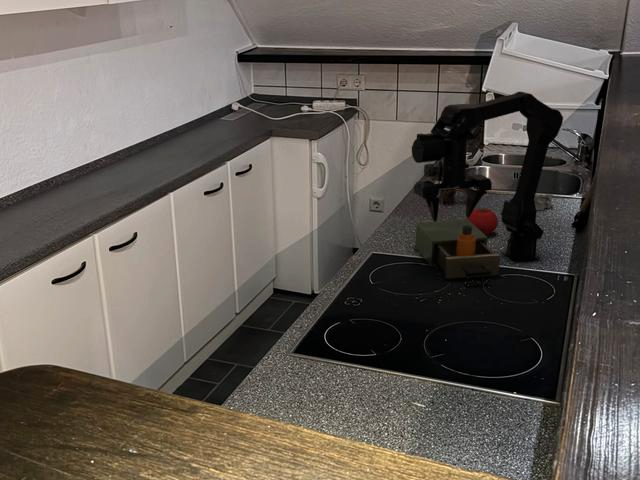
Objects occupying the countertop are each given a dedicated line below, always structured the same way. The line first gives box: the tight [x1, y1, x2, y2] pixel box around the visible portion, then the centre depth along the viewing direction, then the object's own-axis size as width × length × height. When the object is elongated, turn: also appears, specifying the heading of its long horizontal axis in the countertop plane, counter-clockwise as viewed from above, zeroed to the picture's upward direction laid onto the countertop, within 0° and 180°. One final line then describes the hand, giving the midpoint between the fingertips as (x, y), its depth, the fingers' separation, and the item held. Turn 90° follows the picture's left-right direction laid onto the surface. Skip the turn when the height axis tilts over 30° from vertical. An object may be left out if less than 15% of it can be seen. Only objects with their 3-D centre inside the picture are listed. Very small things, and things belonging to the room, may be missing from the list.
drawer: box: [435, 241, 501, 280], centre depth 192 cm, size 18×13×5 cm
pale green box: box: [415, 219, 488, 268], centre depth 204 cm, size 15×15×7 cm
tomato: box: [466, 207, 499, 236], centre depth 218 cm, size 9×9×8 cm
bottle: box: [456, 226, 476, 256], centre depth 191 cm, size 5×5×10 cm
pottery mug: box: [438, 186, 467, 204], centre depth 247 cm, size 12×10×8 cm
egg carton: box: [514, 193, 554, 211], centre depth 241 cm, size 11×8×4 cm
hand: (451, 219), depth 191 cm, fingers open, 9 cm apart
